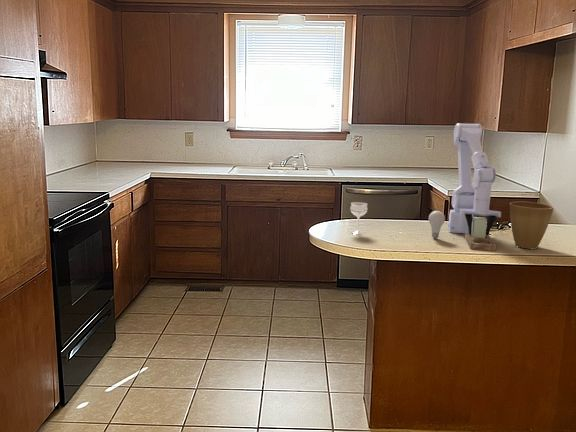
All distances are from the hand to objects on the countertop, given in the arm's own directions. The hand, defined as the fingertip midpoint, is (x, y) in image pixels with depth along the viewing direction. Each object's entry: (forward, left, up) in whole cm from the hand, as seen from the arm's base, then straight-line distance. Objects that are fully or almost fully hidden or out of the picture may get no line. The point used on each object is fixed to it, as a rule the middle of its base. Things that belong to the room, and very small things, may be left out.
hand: (478, 234), depth 212 cm
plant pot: (+17, -3, -3) cm, 18 cm away
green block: (0, 0, -3) cm, 3 cm away
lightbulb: (-16, -1, -3) cm, 16 cm away
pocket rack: (0, -4, -3) cm, 5 cm away
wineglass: (-46, -1, -3) cm, 46 cm away
